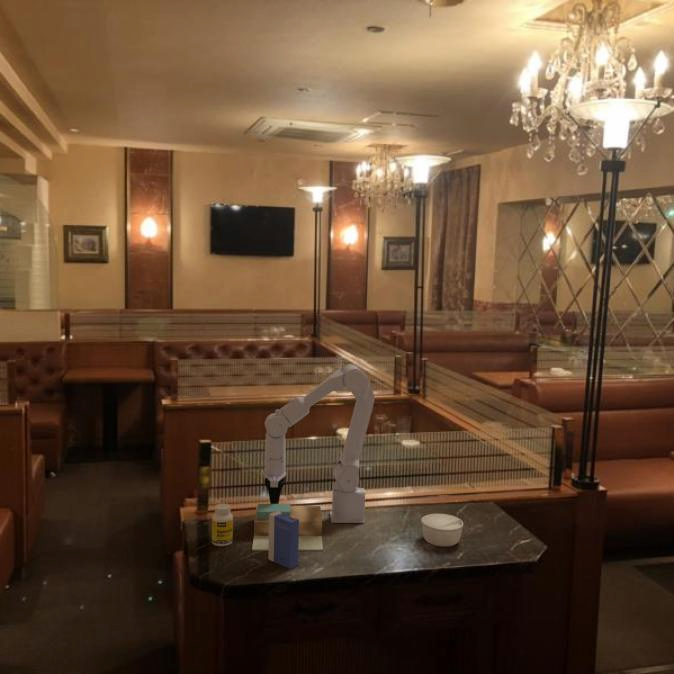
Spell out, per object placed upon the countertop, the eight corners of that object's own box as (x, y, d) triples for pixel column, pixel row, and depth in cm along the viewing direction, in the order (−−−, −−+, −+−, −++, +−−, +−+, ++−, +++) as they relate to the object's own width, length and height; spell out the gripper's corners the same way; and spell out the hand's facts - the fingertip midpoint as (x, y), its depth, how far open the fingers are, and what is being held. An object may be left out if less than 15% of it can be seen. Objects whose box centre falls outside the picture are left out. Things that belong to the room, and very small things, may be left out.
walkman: (298, 565, 166) (299, 518, 165) (289, 569, 164) (290, 521, 163) (276, 555, 172) (277, 509, 170) (268, 559, 169) (268, 512, 168)
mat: (321, 537, 184) (321, 536, 184) (322, 550, 175) (322, 549, 175) (253, 536, 183) (254, 535, 183) (251, 550, 174) (251, 549, 174)
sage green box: (290, 510, 191) (290, 503, 191) (290, 519, 185) (290, 511, 185) (257, 510, 191) (257, 503, 190) (256, 518, 185) (256, 511, 184)
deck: (320, 519, 196) (320, 505, 196) (321, 536, 184) (322, 521, 184) (256, 519, 195) (256, 505, 195) (254, 536, 183) (254, 521, 183)
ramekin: (459, 551, 177) (460, 531, 177) (416, 545, 180) (417, 525, 180) (464, 535, 188) (465, 516, 187) (424, 529, 191) (425, 511, 190)
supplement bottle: (215, 548, 175) (215, 511, 174) (208, 540, 180) (209, 504, 179) (235, 544, 178) (235, 508, 176) (228, 536, 182) (229, 501, 181)
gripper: (262, 449, 199) (261, 494, 201) (259, 464, 185) (258, 513, 186) (286, 449, 200) (285, 495, 201) (285, 464, 185) (284, 513, 187)
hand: (274, 503), depth 194 cm, fingers closed
